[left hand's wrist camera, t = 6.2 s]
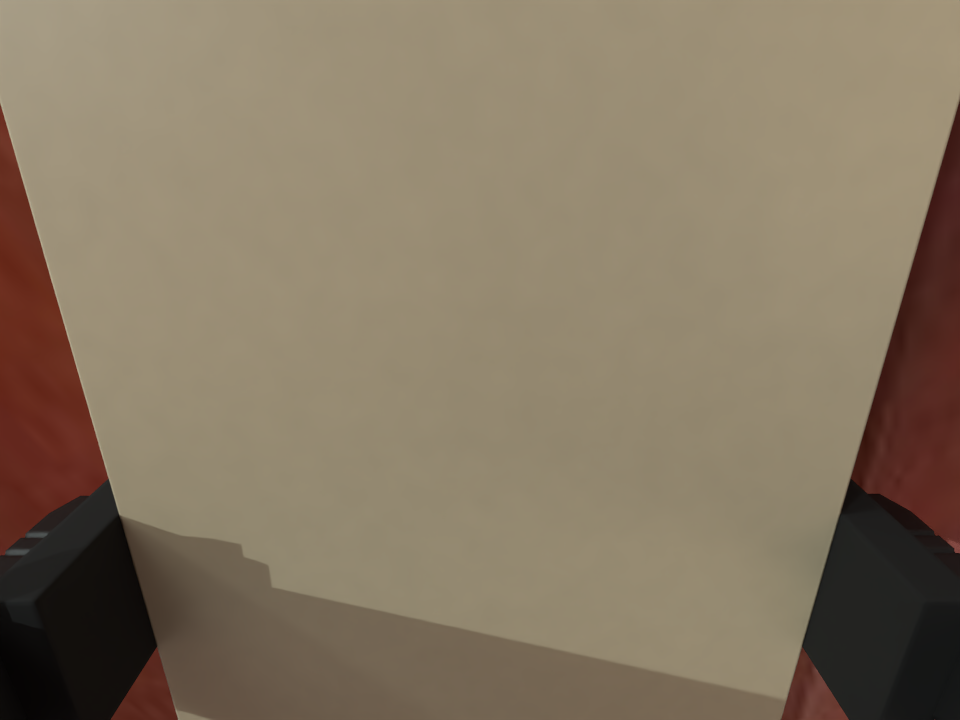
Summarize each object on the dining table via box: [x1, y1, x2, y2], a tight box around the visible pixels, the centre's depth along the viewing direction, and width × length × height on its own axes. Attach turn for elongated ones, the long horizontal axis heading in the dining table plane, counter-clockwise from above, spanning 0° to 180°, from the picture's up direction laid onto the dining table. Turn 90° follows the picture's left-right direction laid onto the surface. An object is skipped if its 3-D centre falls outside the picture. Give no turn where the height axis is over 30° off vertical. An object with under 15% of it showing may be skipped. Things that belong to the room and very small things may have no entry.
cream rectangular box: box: [0, 0, 960, 720], centre depth 11 cm, size 17×11×8 cm, turn 0°
